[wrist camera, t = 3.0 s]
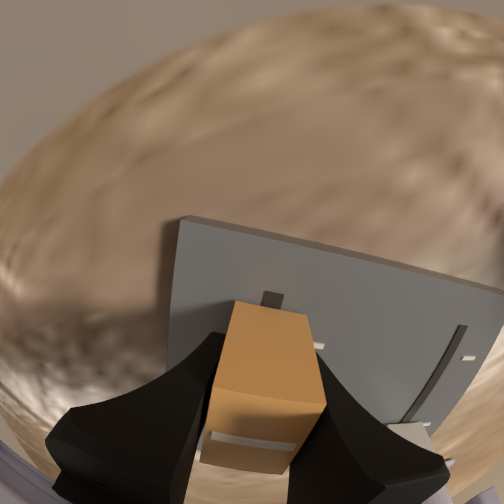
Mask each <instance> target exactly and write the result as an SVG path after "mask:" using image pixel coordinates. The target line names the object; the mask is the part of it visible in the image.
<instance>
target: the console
mask: <svg viewBox="0 0 504 504" xmlns="http://www.w3.org/2000/svg"><path fill="white" fill-rule="evenodd" d="M235 301H240V302H245V303H249V304H254V305H259V306H264V307H269V308H274V309H279V310H284V311H289V312H294V313H299V314H305V315H307V318H308V322H309V326H310V331H311V335H312V339H313V343H314V348H315V351H316V352H317V353H318V354H319V356H320V357H321V358H322V359H323V361H324V362H325V363H326V365H327V366H328V367H329V369H330V370H331V371H332V373H333V374H334V375H335V377H336V378H337V379H338V380H339V382H340V383H341V384H342V385H343V386H344V388H345V389H346V390H347V391H348V392H349V393H350V394H351V395H352V396H353V398H354V399H355V400H356V401H357V402H358V403H359V404H360V405H361V406H362V407H363V408H364V409H366V410H367V411H368V412H369V413H370V414H371V415H372V416H373V417H375V418H376V419H377V420H378V421H380V422H381V423H382V424H384V425H385V426H387V425H389V424H405V423H416V422H422V423H423V425H424V427H425V429H426V431H427V434H428V436H429V438H430V437H431V435H432V434H433V433H434V432H435V431H436V430H437V428H438V427H439V426H440V425H441V423H442V422H443V421H444V420H445V418H446V417H447V416H448V415H449V413H450V412H451V411H452V409H453V408H454V407H455V405H456V404H457V403H458V401H459V400H460V398H461V397H462V396H463V394H464V393H465V391H466V390H467V388H468V387H469V385H470V384H471V382H472V381H473V379H474V377H475V376H476V374H477V373H478V371H479V369H480V368H481V366H482V364H483V362H484V361H485V359H486V357H487V355H488V354H489V352H490V350H491V348H492V346H493V344H494V342H495V340H496V338H497V336H498V334H499V332H500V330H501V328H502V326H503V324H504V291H503V290H499V289H496V288H492V287H489V286H485V285H482V284H478V283H475V282H471V281H467V280H464V279H460V278H456V277H453V276H449V275H445V274H442V273H438V272H434V271H430V270H426V269H423V268H419V267H415V266H411V265H407V264H403V263H399V262H395V261H391V260H387V259H383V258H379V257H375V256H371V255H367V254H363V253H359V252H355V251H350V250H346V249H342V248H338V247H334V246H329V245H325V244H321V243H316V242H312V241H308V240H303V239H299V238H294V237H290V236H286V235H281V234H277V233H272V232H267V231H263V230H258V229H254V228H249V227H244V226H240V225H235V224H230V223H225V222H221V221H216V220H211V219H206V218H201V217H196V216H191V215H189V216H187V217H185V218H183V219H181V220H180V227H179V234H178V242H177V249H176V257H175V265H174V274H173V283H172V293H171V304H170V316H169V330H168V345H167V365H166V372H168V371H169V370H170V369H172V368H173V367H174V366H176V365H177V364H178V363H180V362H181V361H182V360H184V359H185V358H186V357H187V356H188V355H189V354H190V353H191V352H193V351H194V350H195V349H196V348H197V347H198V346H199V345H200V344H201V343H202V342H203V341H204V339H205V338H206V337H207V336H208V335H209V333H211V332H218V333H222V334H226V335H227V331H228V327H229V324H230V320H231V316H232V312H233V309H234V305H235ZM206 421H207V420H206ZM205 426H206V423H205V425H204V428H203V431H202V433H201V436H200V439H199V442H198V445H197V449H196V450H200V451H201V449H202V444H203V438H204V432H205Z"/></svg>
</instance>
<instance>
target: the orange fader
mask: <svg viewBox="0 0 504 504" xmlns="http://www.w3.org/2000/svg"><path fill="white" fill-rule="evenodd" d="M326 405H327V403H326V398H325V394H324V389H323V384H322V379H321V375H320V370H319V366H318V361H317V357H316V352H315V348H314V343H313V339H312V335H311V331H310V326H309V322H308V318H307V315H305V314H299V313H294V312H289V311H284V310H279V309H274V308H269V307H264V306H259V305H254V304H249V303H245V302H240V301H235V305H234V309H233V312H232V316H231V320H230V324H229V327H228V331H227V335H226V338H225V342H224V346H223V350H222V353H221V357H220V361H219V364H218V368H217V372H216V376H215V379H214V383H213V387H212V393H211V398H210V404H209V409H208V415H207V421H206V426H205V432H204V438H203V444H202V449H201V455H200V461H199V462H201V463H205V464H210V465H215V466H220V467H225V468H231V469H237V470H243V471H251V472H259V473H268V474H279V475H282V474H283V473H284V471H285V470H286V469H287V467H288V466H289V464H290V463H291V461H292V460H293V458H294V457H295V455H296V454H297V452H298V451H299V449H300V448H301V446H302V445H303V443H304V442H305V440H306V438H307V437H308V435H309V434H310V432H311V430H312V429H313V427H314V425H315V424H316V422H317V420H318V419H319V417H320V415H321V413H322V412H323V410H324V408H325V406H326Z"/></svg>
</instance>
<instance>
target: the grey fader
mask: <svg viewBox="0 0 504 504" xmlns="http://www.w3.org/2000/svg"><path fill="white" fill-rule="evenodd" d="M386 427H388V428H389V429H391V430H392V431H393V432H395V433H396V434H398V435H400V436H401V437H403V438H405V439H406V440H408V441H410V442H412V443H414V444H416V445H418V446H420V447H422V448H424V449H427V450H429V451H431V452H434V453H436V451H435V448H434V446H433V444H432V442H431V440H430V438H429V436H428V434H427V431H426V429H425V427H424V425H423V423H422V422H416V423H405V424H389V425H387V426H386ZM436 454H437V453H436Z"/></svg>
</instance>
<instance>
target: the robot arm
mask: <svg viewBox="0 0 504 504" xmlns="http://www.w3.org/2000/svg"><path fill="white" fill-rule="evenodd" d="M225 338H226V334H222V333H218V332H211V333H209V335H208V336H207V337H206V338H205V339H204V341H203V342H202V343H201V344H200V345H199V346H198V347H197V348H196V349H195V350H194V351H193V352H191V353H190V354H189V355H188V356H187V357H186V358H185V359H184V360H182V361H181V362H180V363H178V364H177V365H176V366H174V367H173V368H172V369H170V370H169V371H168V372H166V373H165V374H163V375H162V376H160V377H158V378H157V379H155V380H153V381H152V382H150V383H148V384H146V385H144V386H142V387H140V388H138V389H136V390H133V391H131V392H129V393H126V394H124V395H121V396H118V397H115V398H112V399H109V400H106V401H103V402H99V403H95V404H90V405H85V406H80V407H74V408H70V409H69V411H68V412H67V413H66V414H64V415H63V416H62V418H61V419H60V420H59V421H58V422H57V424H56V425H55V426H54V428H53V429H52V431H51V432H50V433H49V435H48V436H47V438H46V439H45V444H46V447H47V449H48V451H49V453H50V455H51V456H52V458H53V459H54V461H55V462H56V463H57V465H58V466H59V468H60V469H61V473H60V474H59V476H58V478H57V480H56V481H55V480H54V479H52V478H50V477H49V476H47V475H46V474H44V473H43V472H41V471H40V470H38V469H37V468H35V467H34V466H33V465H31V464H30V463H28V462H27V461H26V460H24V459H23V458H22V457H20V456H19V455H18V454H17V453H15V452H14V451H12V449H10V448H9V447H8V446H7V445H6V444H4V443H3V442H2V441H1V440H0V504H183V502H184V498H185V494H186V490H187V485H188V481H189V477H190V473H191V469H192V465H193V461H194V457H195V453H196V449H197V445H198V442H199V439H200V436H201V433H202V431H203V428H204V425H205V423H206V420H207V415H208V409H209V404H210V398H211V393H212V387H213V383H214V379H215V376H216V372H217V368H218V364H219V361H220V357H221V353H222V350H223V346H224V342H225ZM315 352H316V351H315ZM316 357H317V361H318V366H319V370H320V375H321V379H322V384H323V389H324V394H325V398H326V403H327V405H326V406H325V408H324V410H323V412H322V413H321V415H320V417H319V419H318V420H317V422H316V424H315V425H314V427H313V429H312V430H311V432H310V434H309V435H308V437H307V438H306V440H305V442H304V443H303V445H302V446H301V448H300V449H299V451H298V452H297V454H296V455H295V457H294V458H293V460H292V461H291V463H290V470H289V486H288V497H287V504H453V502H452V500H451V497H450V494H449V492H448V489H447V486H446V483H447V482H448V480H449V478H450V473H449V470H448V468H449V467H450V466H451V465H452V464H453V463H454V462H455V460H454V459H451V460H448V461H444V459H443V457H442V456H441V455H439V454H436V453H434V452H431V451H429V450H427V449H424V448H422V447H420V446H418V445H416V444H414V443H412V442H410V441H408V440H406V439H405V438H403V437H401V436H400V435H398V434H396V433H395V432H393V431H392V430H391V429H389V428H388V427H386V426H385V425H384V424H382V423H381V422H380V421H378V420H377V419H376V418H375V417H373V416H372V415H371V414H370V413H369V412H368V411H367V410H366V409H364V408H363V407H362V406H361V405H360V404H359V403H358V402H357V401H356V400H355V399H354V398H353V396H352V395H351V394H350V393H349V392H348V391H347V390H346V389H345V388H344V386H343V385H342V384H341V383H340V382H339V380H338V379H337V378H336V377H335V375H334V374H333V373H332V371H331V370H330V369H329V367H328V366H327V365H326V363H325V362H324V361H323V359H322V358H321V357H320V356H319V354H318V353H317V352H316ZM465 504H502V502H501V500H500V497H499V495H498V493H497V490H496V488H495V486H493V487H491V488H489V489H487V490H485V491H483V492H481V493H480V494H478V495H476V496H475V497H473V498H472V499H470V500H469V501H468V502H466V503H465Z"/></svg>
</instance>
